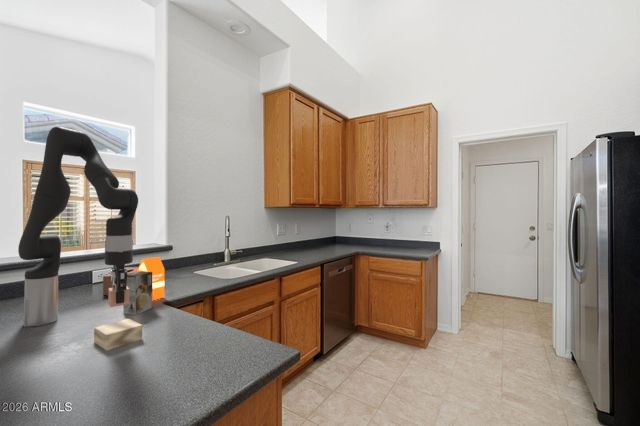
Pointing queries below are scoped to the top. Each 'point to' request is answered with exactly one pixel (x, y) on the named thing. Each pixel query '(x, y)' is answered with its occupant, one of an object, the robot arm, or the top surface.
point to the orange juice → (154, 275)
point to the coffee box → (139, 292)
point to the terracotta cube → (113, 297)
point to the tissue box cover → (108, 281)
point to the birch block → (117, 334)
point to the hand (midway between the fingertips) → (118, 300)
